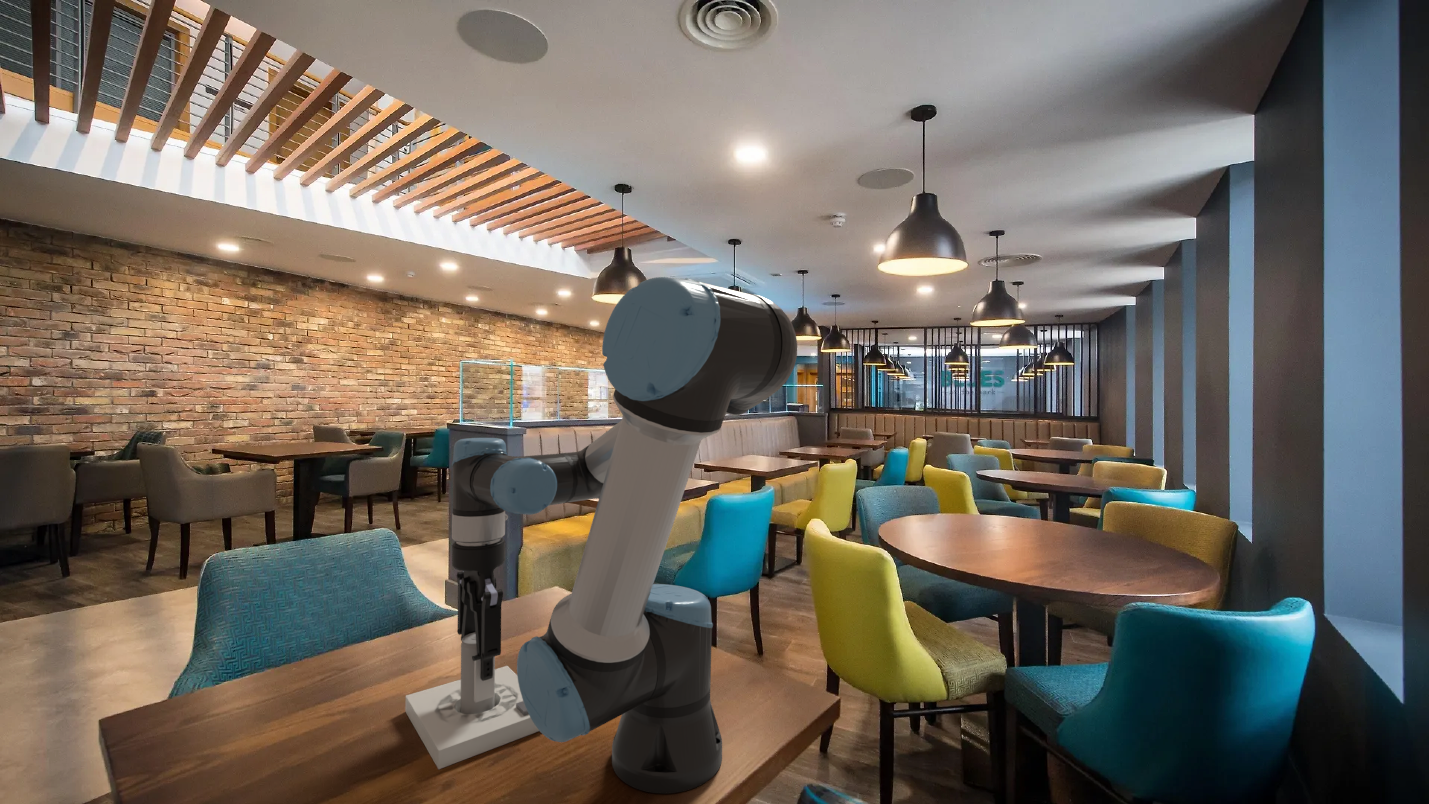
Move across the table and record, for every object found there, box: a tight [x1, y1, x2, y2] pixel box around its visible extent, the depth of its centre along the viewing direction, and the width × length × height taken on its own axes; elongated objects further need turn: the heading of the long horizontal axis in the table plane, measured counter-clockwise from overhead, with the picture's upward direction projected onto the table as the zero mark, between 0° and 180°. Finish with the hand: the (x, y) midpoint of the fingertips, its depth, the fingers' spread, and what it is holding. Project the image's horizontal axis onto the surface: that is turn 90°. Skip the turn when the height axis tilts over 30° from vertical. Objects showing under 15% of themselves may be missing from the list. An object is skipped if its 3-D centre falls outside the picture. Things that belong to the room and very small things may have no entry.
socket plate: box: [404, 665, 540, 770], centre depth 89 cm, size 18×16×3 cm
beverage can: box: [460, 632, 496, 715], centre depth 89 cm, size 5×5×12 cm
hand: (477, 690), depth 89 cm, fingers closed on beverage can, 5 cm apart
